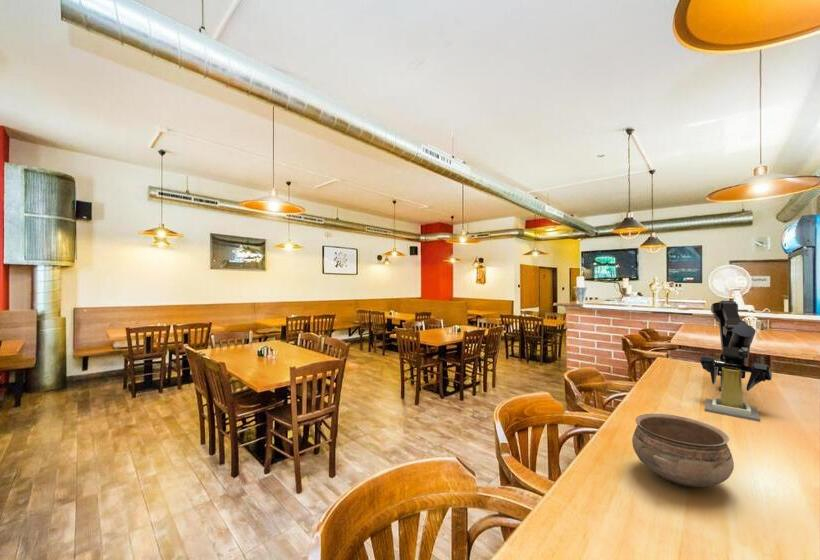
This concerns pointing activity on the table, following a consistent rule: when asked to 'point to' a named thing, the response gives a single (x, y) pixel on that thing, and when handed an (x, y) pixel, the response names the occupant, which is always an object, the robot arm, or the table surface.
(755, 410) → the vase holder
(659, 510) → the table surface
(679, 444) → the cooking pot
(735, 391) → the vase
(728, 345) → the robot arm
